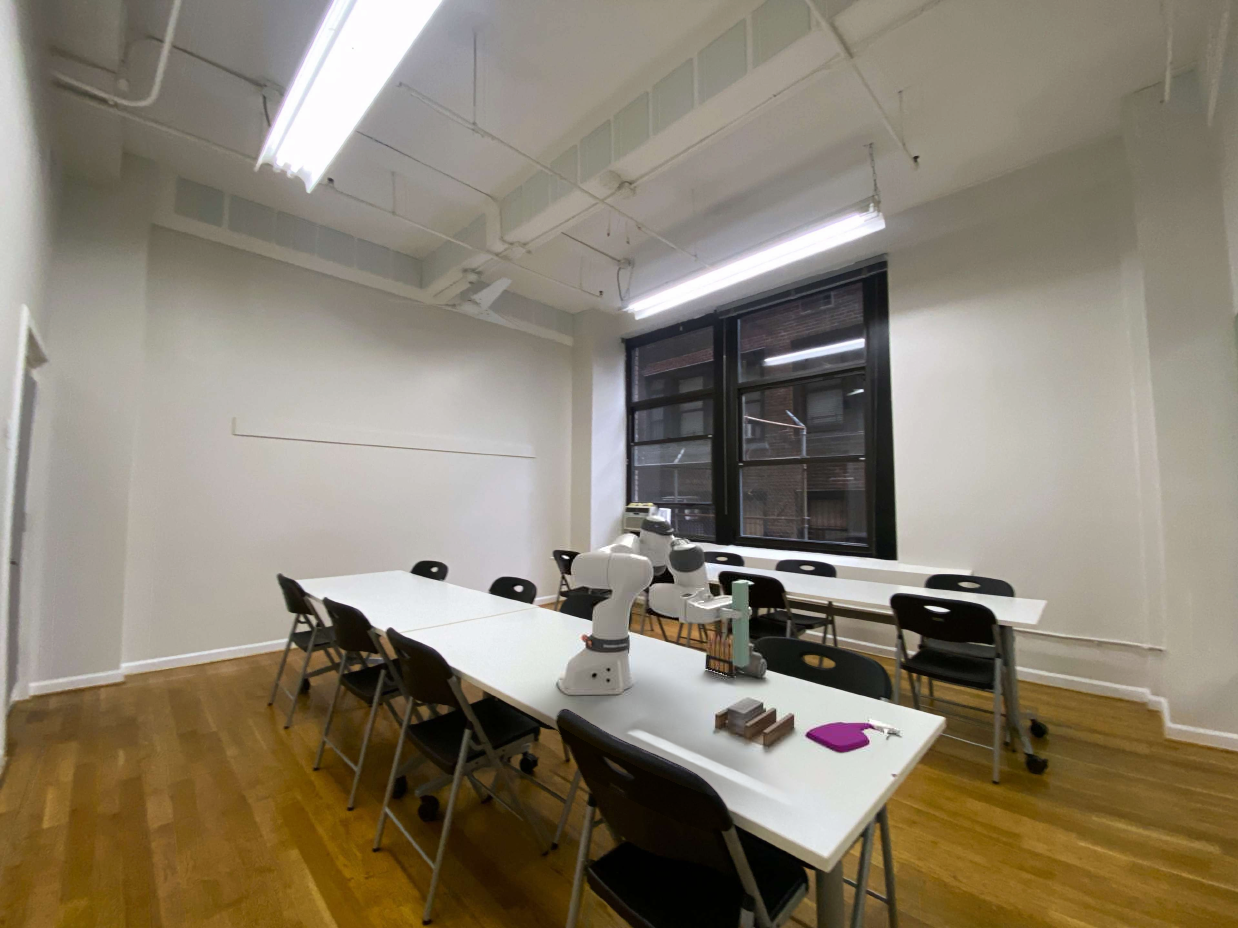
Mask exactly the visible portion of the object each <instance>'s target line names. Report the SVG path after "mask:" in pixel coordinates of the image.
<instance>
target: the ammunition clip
mask: <svg viewBox="0 0 1238 928" xmlns="http://www.w3.org/2000/svg"><path fill="white" fill-rule="evenodd" d="M706 642H707V644H706V653H705V666H704V667H705V668H704V669H708V670H712V671H715V672H718V673H722V674H724V675H727V676H730V677H735V676H736V677H737V671H736V666H735V665H733V638H731V639H729V637H727V636H726V640H725V638H724V636H721V638H720V635H717V636H715V634H714V633H713V634H712V637H711V633H710V632H709V633H708V635H707V641H706ZM727 676H726V677H727ZM730 677H729V678H730ZM736 677H735V678H736Z"/></svg>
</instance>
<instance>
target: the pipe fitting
mask: <svg viewBox="0 0 1238 928" xmlns="http://www.w3.org/2000/svg"><path fill="white" fill-rule="evenodd" d="M754 648H755V645H754V644H753V643H752V642H749V664H748V665H746V666H744V667H739V666H736V672H741V673H744V674H746V675H749V676H752V677H754V678H758V679H762V678H764V676H765V675H766V673H767V667H768V664H767V660H765V658H763V655H762V654H761V653H759V652H755V651H754V650H753V649H754Z"/></svg>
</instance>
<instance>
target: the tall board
mask: <svg viewBox="0 0 1238 928" xmlns="http://www.w3.org/2000/svg"><path fill="white" fill-rule="evenodd" d="M731 596H732V610H740V611H741V612H742V614H741V615H742V617H741V618H738V619H736V618H731V619H732V626H731V627H732V632H731V633H732V639H733V665H735V666H739V667H744V666H746V665H748V664H749V643H750V629H749V627H750V623H749V622H750V620H749V619H750V618H749V617H750V615H749V607H750V606H749V603H750V602H749V581H745V580H736V581H732V582H731Z"/></svg>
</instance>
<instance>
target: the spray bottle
mask: <svg viewBox="0 0 1238 928" xmlns="http://www.w3.org/2000/svg"><path fill="white" fill-rule="evenodd" d="M867 721H868V722H842V721H838V722H830V723H827V724H822V725H819V726H816V727H813V728H811V729H809V730H808V731H807V732H805V735H804V736H805V737H806V738H808V739H810V740H812V741H814V742H816V743H817V744H819V745H821V746H823V747H826V748H828V749H830V750H832V751H835V752H837V753H848V752H852V751H856V750H857V749H861V748H865V747H866V746H868V745H870V743H871V742H870V740H869V737H868V736H867V734H865V732H864V731H865V730H872V731H876V732H877V731H878V732H880V733H884V734H897V735H901V730H900V729H899V728H896V727H894V726H892V725H889V724H886V723H884V722H881V721H878V720H876V719H872V718H870V717H869V718H868V719H867Z"/></svg>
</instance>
